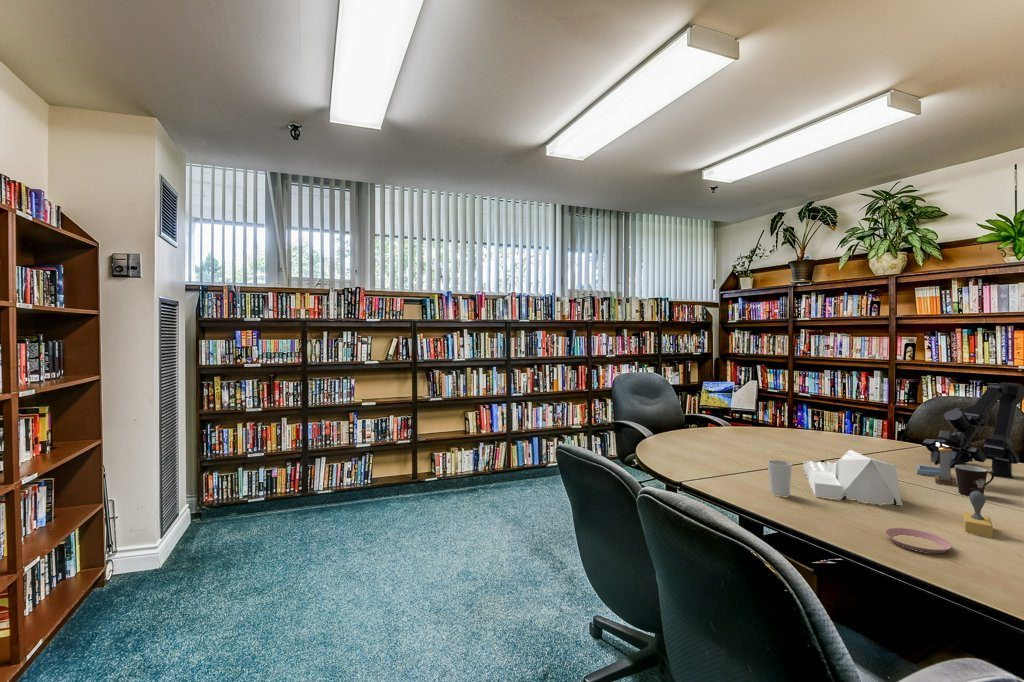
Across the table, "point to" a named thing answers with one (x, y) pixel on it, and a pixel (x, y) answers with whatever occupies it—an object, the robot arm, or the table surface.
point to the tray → (928, 470)
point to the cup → (779, 477)
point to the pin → (945, 462)
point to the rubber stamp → (977, 517)
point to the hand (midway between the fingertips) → (942, 465)
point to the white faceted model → (854, 479)
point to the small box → (943, 444)
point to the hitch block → (945, 481)
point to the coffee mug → (971, 479)
